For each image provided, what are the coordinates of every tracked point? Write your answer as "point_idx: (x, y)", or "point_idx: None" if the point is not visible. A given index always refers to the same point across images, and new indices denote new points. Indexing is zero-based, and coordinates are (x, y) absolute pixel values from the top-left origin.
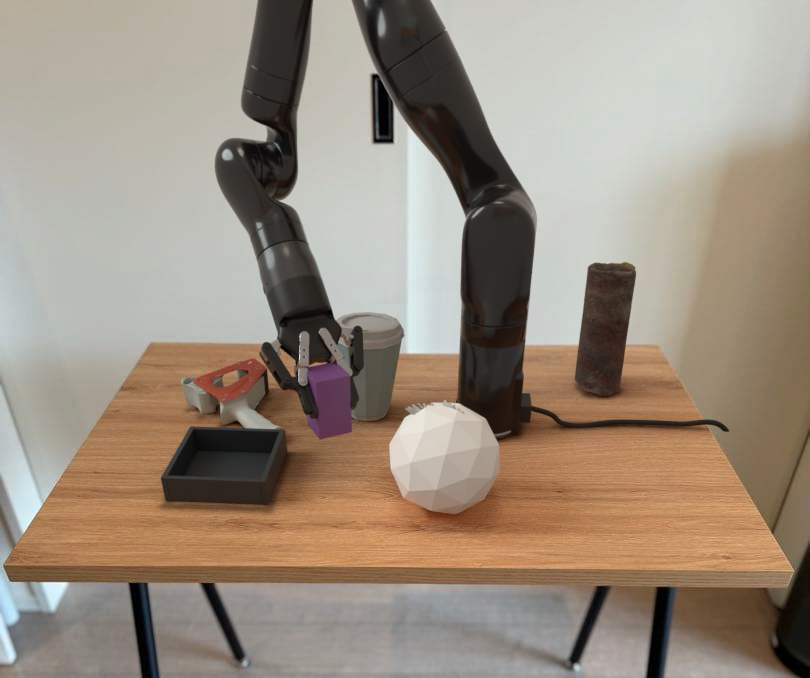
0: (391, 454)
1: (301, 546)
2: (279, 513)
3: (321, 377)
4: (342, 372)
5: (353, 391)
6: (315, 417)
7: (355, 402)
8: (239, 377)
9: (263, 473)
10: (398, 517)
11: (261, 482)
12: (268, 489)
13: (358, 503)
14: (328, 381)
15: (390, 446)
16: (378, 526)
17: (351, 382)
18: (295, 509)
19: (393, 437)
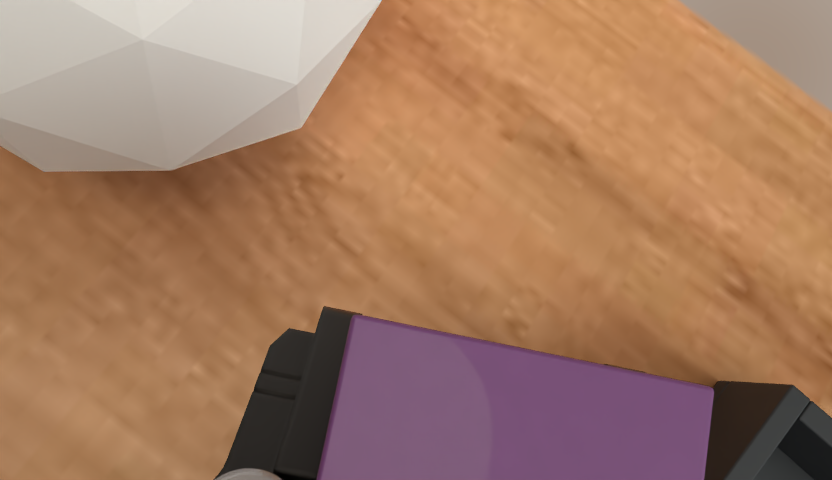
0: (344, 14)
1: (716, 132)
2: (694, 337)
3: (617, 454)
4: (373, 425)
5: (285, 389)
6: None
7: (329, 311)
8: None
9: (771, 451)
10: (370, 62)
11: (803, 395)
12: (739, 406)
13: (432, 214)
14: (582, 361)
15: (312, 52)
16: (456, 64)
17: (257, 448)
18: (636, 324)
19: (268, 62)
